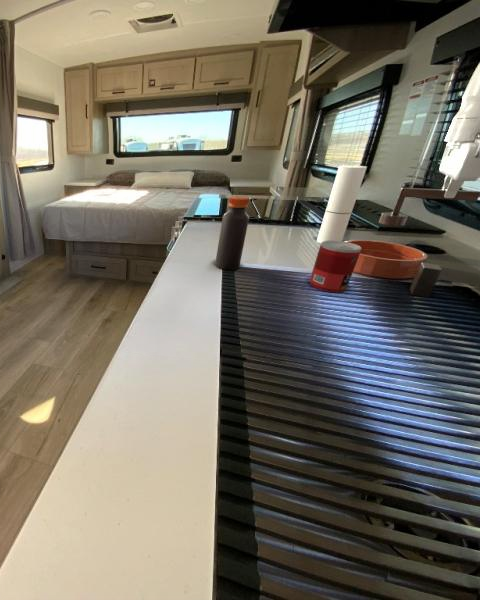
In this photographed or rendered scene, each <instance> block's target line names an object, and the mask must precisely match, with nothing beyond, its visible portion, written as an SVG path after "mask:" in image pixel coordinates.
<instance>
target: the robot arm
mask: <svg viewBox="0 0 480 600" xmlns="http://www.w3.org/2000/svg"><path fill="white" fill-rule="evenodd" d="M461 98H462V100H461V106H460V108H459V110H458V111H457V113H456V114H455V115H454V117H453V118H452V121H451V124H450V126H449V129H448V132H447V134H446V136H445V139H444V142H447V143H446V146H445V148H444V152H443V155H442V158H441V161H440V164H439V170H438V171H439V173H441V174H443V175H445V178H444V182H443V187H442V189H443V190H445V193H444V195H443V196H444V197H445V198H454V197H455V196H456V194H457V191H458V190H460V189H461V188H462V186H463V185H464V183H465V182H476V181H478V180H479V178H480V62H479V63H478V65H477V66H476V67H475V70H474V72H473V73H472V76H471V77H470V79H469V81H468V84H467V86H466V88H465V90H464V92H463V95H462V97H461Z"/></svg>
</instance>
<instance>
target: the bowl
mask: <svg viewBox="0 0 480 600" xmlns="http://www.w3.org/2000/svg"><path fill="white" fill-rule="evenodd" d="M344 242H349V243H353V244H356V245H358V246H360V247H361V251H360V254H359V257H358V260H357V263H356V265H355V268H354V270H353V273H357V274H360V275H364V276H367V277H368V276H369V277H374V278H380V279H391V280H392V279H397V280H398V279H412V278H415V276H416V274H417V272H418V270H419V267H420V265H421V263H426V261H427V259H428V255H427V253H426V252H424V251H422V250H421V249H417V248H416V247H411V246H409V245H408V246H407V245H404V244H400V243H396V242H395V243H394V242H388V241H383V240H371V239H350V240H345V241H344Z"/></svg>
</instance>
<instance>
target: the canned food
mask: <svg viewBox="0 0 480 600" xmlns="http://www.w3.org/2000/svg"><path fill="white" fill-rule="evenodd" d="M360 251H361V247H360V246H358V245H356V244H353V243H349V242H345V241H343V240H342V241H324V242H322V243H320V246H319V249H318V251H317V254H316V258H315V261H314V264H313V268H312V271H311V274H310V277H309V284H310V286H311V287H313V288H315V289H317V290H320V291H324V292H328V293H342V292H345V291H346V290H347V288H348V286H349V284H350V282H351V281H350V280H351V279H352V276H353V273H354V272H353V270H354V268H355V265H356V263H357V260H358V257H359V254H360Z"/></svg>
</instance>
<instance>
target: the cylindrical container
mask: <svg viewBox="0 0 480 600" xmlns="http://www.w3.org/2000/svg"><path fill="white" fill-rule="evenodd" d="M367 168H368V166H365V165H339V166H338V168H337V173H336V175H335V178H334V181H333V185H332V188H331V192H330V196H329V198H328V202H327V205H326V208H325V211H324V215H323V219H322V222H321V225H320V228H319V232H318V235H317V238H316V242H317V243H318V244H321V243H322V242H324V241H343V240H344V237H345V233H346V231H347V227H348V225H349V221H350V219H351V215H352V213H353V209H354V207H355V204H356V200H357V199H358V194H359V192H360V190H361V189H360V188H361V186H362V183H363V180H364V177H365V174H366V171H367Z"/></svg>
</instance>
